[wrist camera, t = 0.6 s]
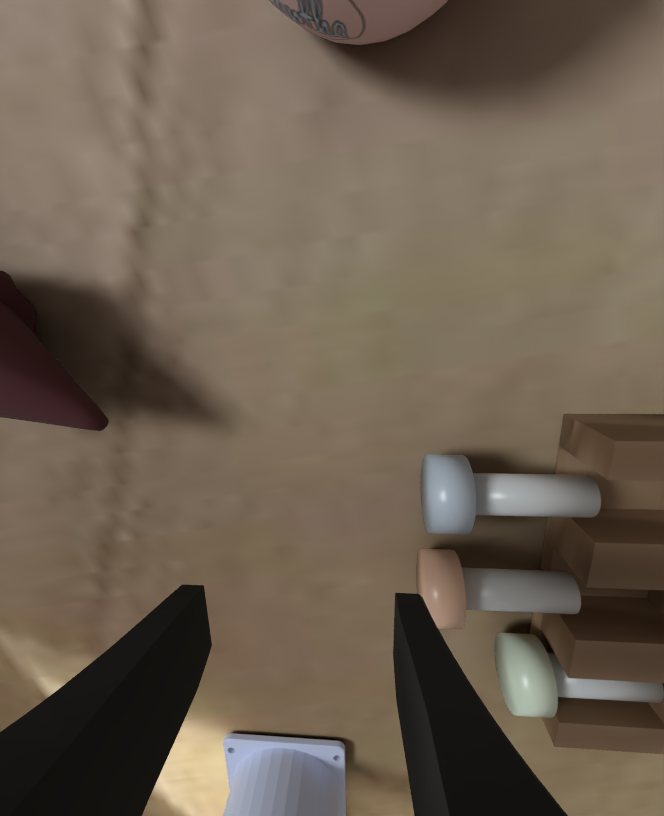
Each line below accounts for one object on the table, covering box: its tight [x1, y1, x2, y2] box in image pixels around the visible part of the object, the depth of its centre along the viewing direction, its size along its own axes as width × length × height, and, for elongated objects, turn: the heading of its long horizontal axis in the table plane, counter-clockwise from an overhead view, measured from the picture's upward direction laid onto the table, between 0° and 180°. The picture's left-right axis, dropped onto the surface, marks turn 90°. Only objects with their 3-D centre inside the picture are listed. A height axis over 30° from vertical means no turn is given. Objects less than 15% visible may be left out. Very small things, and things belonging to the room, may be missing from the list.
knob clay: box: [416, 549, 581, 629], centre depth 17 cm, size 7×3×3 cm, turn 91°
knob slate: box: [421, 454, 601, 534], centre depth 16 cm, size 7×3×3 cm, turn 91°
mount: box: [530, 414, 664, 754], centre depth 17 cm, size 16×6×4 cm, turn 1°
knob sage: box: [495, 633, 664, 718], centre depth 18 cm, size 7×3×3 cm, turn 91°
